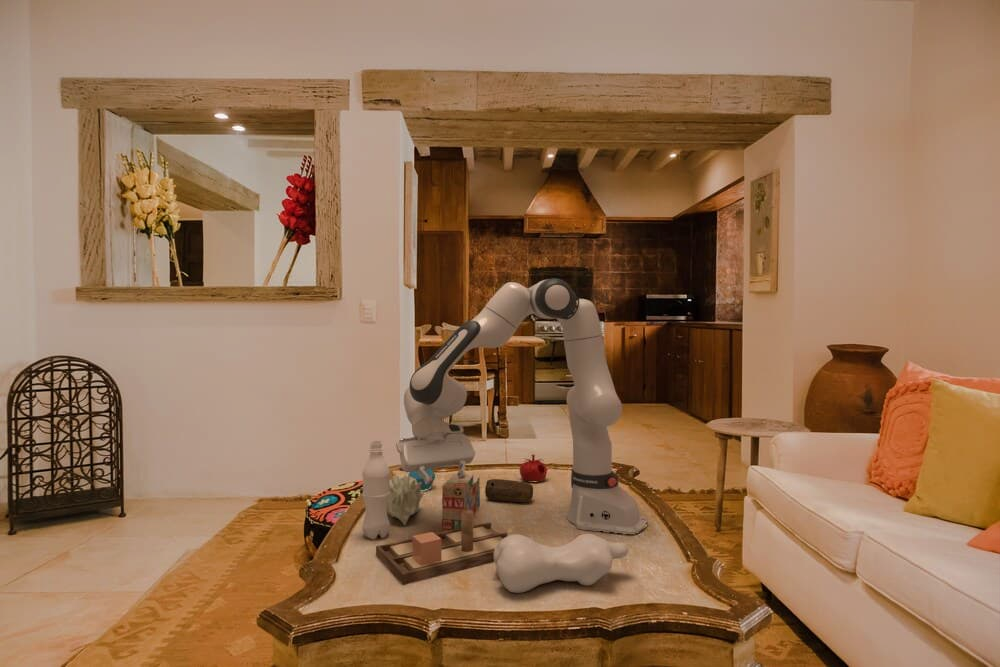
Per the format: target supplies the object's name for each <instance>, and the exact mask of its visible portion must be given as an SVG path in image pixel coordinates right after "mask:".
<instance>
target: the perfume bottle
mask: <svg viewBox="0 0 1000 667" xmlns="http://www.w3.org/2000/svg"><path fill="white" fill-rule="evenodd" d="M424 471H425V472H426V473H427V474H428V475H431V476H432V479H433V482H432V483H431V484H425V481H424V479H423V478H422V477H421V476H419V475H418V473H417V471H413V472H408V475H407V476H410V477H412V478H414V479H416V481H417V483H419V482H422V485H421V490H425V489H429V488H430V487H431V488H432V486H433V484H434V481H435V477H436V473H435V472H434V471H433V469H427V470H424Z"/></svg>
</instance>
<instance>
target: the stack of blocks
mask: <svg viewBox="0 0 1000 667" xmlns="http://www.w3.org/2000/svg"><path fill="white" fill-rule="evenodd" d="M480 488H481V486H480V476H474V474H466V477H465V478H463V479H459V478H458V475H457V473H453V474H452V475H451V476H450V478H448V479H447V481H446V482H445V483H444V484H442V489H441V490H442V491H441V492H442V493H441V496H442V498H441V506H442V512H441V514H442V515H441V517H442V520H441V522H442V523H441V525H442V526H441V530H447V531H451V530H455V529H460V528H461V521H462V511H465V510H470V511H473V516H474V515H475V514H476V512H477V511H478V509H479V507H480V506H481V499H480V498H481V496H480V495H481V489H480Z"/></svg>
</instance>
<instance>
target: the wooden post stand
mask: <svg viewBox="0 0 1000 667" xmlns="http://www.w3.org/2000/svg"><path fill="white" fill-rule="evenodd" d="M473 526H474V515H473V511H470V510H465V511H462V521H461V545H460V546H456V547H452V548H447V549H443V550H441V561H438V562H434V563H430V564H425V565H420V564H419V563H418V562H417V561H416V560H415V559H414V558H413V557H408V558H404V565H405V566H406V567H407V568H408V569H409V570H410V571H411V570H415V569H420V568H424V567H428V566H432V565H436V564H440V563H444V562H448V561H452V560H456V559H461V558H465V557H469V556H473V555H477V554H481V553H485V552H489V551H493V550H495V548H496V546H497V545H498V544H499V542H500V541H501V540H502V539H503V538H502V537H500V536H499V537H495V538H491V539H486V540H482V541H478V542H473Z"/></svg>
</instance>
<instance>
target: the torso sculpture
mask: <svg viewBox="0 0 1000 667" xmlns="http://www.w3.org/2000/svg"><path fill="white" fill-rule="evenodd" d="M628 554H629V549H628V546H627V545H626V544H625V543H624V542H611V541H607V540H606V539H604V538H602V537H601V536H597V535H595V534H594V533H582V534H580V535H578V536H577V537H576V538H574V539H573V540H572V541H570V542H569V543H566V544H563V545H561V546H560V545H559V546H553V547H552V546H548V545H545V544H541V543H539V542H537V541H535V540H534V539H531V538H530V537H528V536H525V535H522V534H519V533H518V534H510V535H508V536H507V537H505V538H504V539H502V540H501V541H500V542H499V544H498V545H497V546H496V548H495V550H494V555H493V556H494V564H495V566H496V567H495V568H496V573H497V575H498V579H500V581H501V583H502V585H503V587H504V588H506V589H507V591H509V592H510V593H513V594H514V593H515V594H522V593H526V592H528V591H530V590H532V589H534V588H536V587H537V586H540V585H543V584H547V583H551V582H554V581H562V582H578V583H579V584H580V585H582V586H585V587H586V586H587V587H588V586H589V587H590V586H593V585H594V584H596V583H597V582H598V580H600V579H601V578H602V577H603V576H605V574H607V573H608V572H609V571H610V570H611V569H612V564H613V560H615V559H622V558H625V557H626V556H627V555H628Z"/></svg>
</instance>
